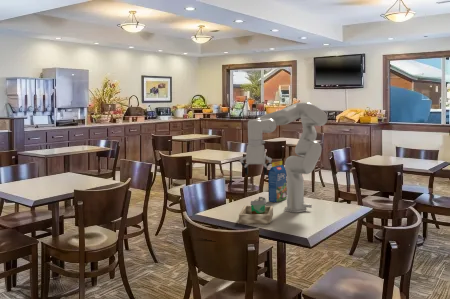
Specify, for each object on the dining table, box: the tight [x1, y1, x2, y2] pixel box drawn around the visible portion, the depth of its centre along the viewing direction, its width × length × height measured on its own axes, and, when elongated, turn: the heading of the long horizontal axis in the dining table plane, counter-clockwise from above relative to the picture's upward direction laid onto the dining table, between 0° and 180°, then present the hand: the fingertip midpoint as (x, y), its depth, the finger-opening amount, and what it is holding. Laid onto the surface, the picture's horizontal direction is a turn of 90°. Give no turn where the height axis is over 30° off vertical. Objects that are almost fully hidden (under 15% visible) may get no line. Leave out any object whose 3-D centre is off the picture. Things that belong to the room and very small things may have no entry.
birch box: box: [238, 205, 274, 226], centre depth 234 cm, size 16×20×5 cm
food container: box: [250, 196, 267, 215], centre depth 233 cm, size 12×6×10 cm, turn 153°
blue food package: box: [267, 160, 287, 203], centre depth 277 cm, size 6×12×25 cm, turn 140°
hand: (256, 174), depth 232 cm, fingers open, 9 cm apart
